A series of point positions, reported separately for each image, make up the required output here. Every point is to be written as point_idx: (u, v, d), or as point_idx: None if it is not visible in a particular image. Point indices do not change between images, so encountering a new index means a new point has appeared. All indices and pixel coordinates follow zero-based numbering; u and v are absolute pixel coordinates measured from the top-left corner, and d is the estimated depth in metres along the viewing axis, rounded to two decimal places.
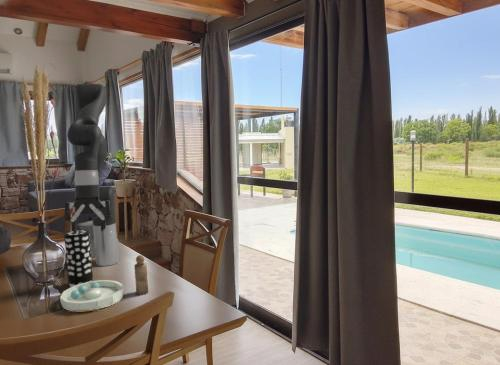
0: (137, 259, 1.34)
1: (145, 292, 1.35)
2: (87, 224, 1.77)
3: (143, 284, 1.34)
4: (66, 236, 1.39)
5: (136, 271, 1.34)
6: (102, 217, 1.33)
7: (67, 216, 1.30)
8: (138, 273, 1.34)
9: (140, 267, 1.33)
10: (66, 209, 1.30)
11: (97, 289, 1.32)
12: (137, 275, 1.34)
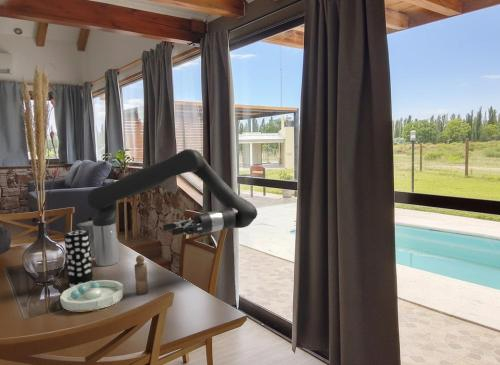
0: (137, 259, 1.34)
1: (145, 292, 1.35)
2: (87, 224, 1.77)
3: (143, 284, 1.34)
4: (66, 236, 1.39)
5: (136, 271, 1.34)
6: None
7: (189, 233, 1.37)
8: (138, 273, 1.34)
9: (140, 267, 1.33)
10: None
11: (97, 289, 1.32)
12: (137, 275, 1.34)
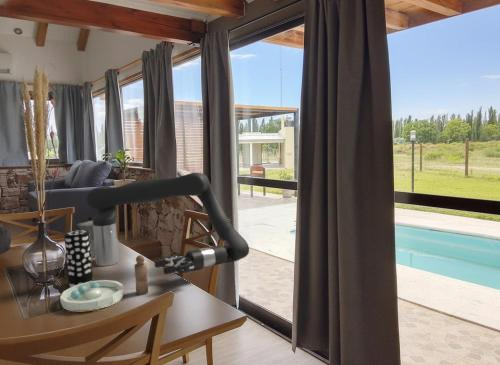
0: (137, 259, 1.34)
1: (145, 292, 1.35)
2: (87, 224, 1.77)
3: (143, 284, 1.34)
4: (66, 236, 1.39)
5: (136, 271, 1.34)
6: None
7: None
8: (138, 273, 1.34)
9: (140, 267, 1.33)
10: None
11: (97, 289, 1.32)
12: (137, 275, 1.34)
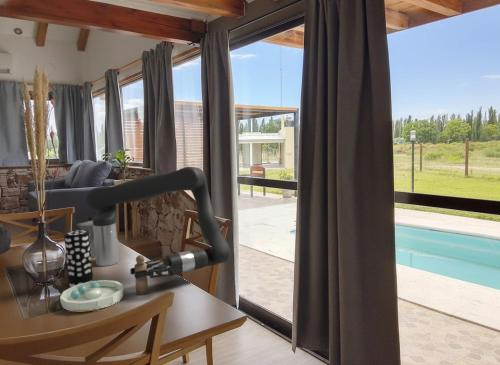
0: (137, 259, 1.34)
1: (145, 292, 1.35)
2: (87, 224, 1.77)
3: (143, 283, 1.34)
4: (66, 236, 1.39)
5: (136, 271, 1.34)
6: None
7: None
8: None
9: (140, 267, 1.33)
10: None
11: (97, 289, 1.32)
12: None
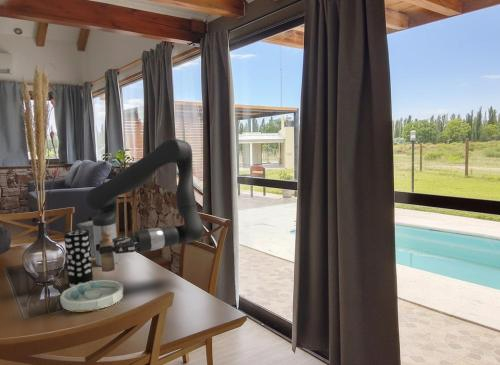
0: (102, 234, 1.28)
1: (111, 269, 1.29)
2: (87, 224, 1.77)
3: (108, 260, 1.29)
4: (66, 236, 1.39)
5: None
6: None
7: (119, 252, 1.28)
8: None
9: (105, 242, 1.28)
10: None
11: (97, 289, 1.32)
12: None
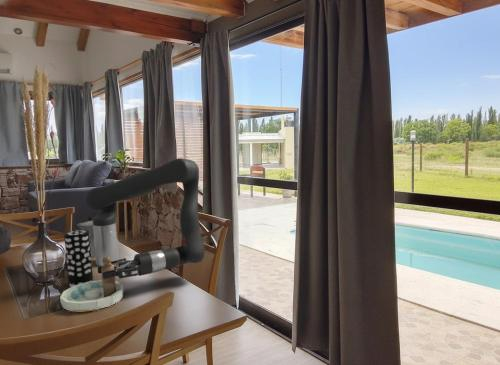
0: (103, 260, 1.29)
1: None
2: (87, 224, 1.77)
3: (110, 286, 1.30)
4: (66, 236, 1.39)
5: None
6: None
7: None
8: None
9: (106, 269, 1.29)
10: None
11: (97, 289, 1.32)
12: None
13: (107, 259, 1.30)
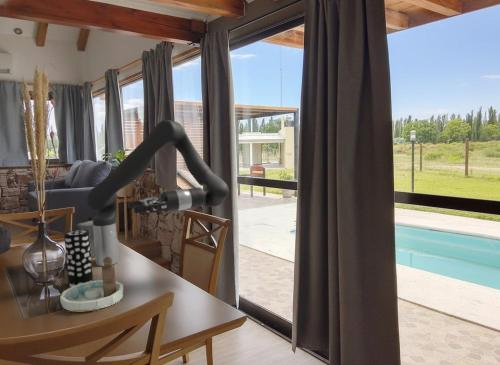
0: (104, 261, 1.29)
1: None
2: (87, 224, 1.77)
3: (110, 286, 1.30)
4: (66, 236, 1.39)
5: (103, 273, 1.29)
6: None
7: (153, 211, 1.32)
8: (105, 275, 1.29)
9: (107, 269, 1.29)
10: None
11: (97, 289, 1.32)
12: (104, 277, 1.29)
13: (108, 259, 1.29)
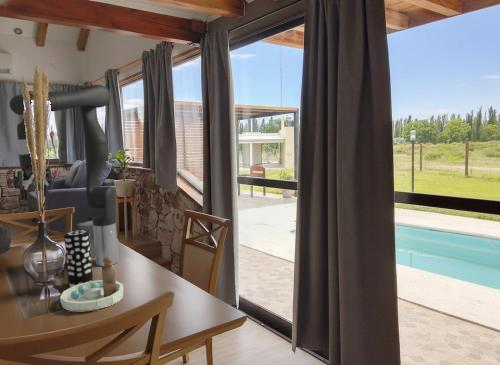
0: (104, 261, 1.29)
1: None
2: (87, 224, 1.77)
3: (110, 286, 1.30)
4: (66, 236, 1.39)
5: (103, 273, 1.29)
6: (47, 183, 1.43)
7: (21, 184, 1.32)
8: (105, 275, 1.29)
9: (107, 269, 1.29)
10: (20, 177, 1.32)
11: (97, 289, 1.32)
12: (104, 277, 1.29)
13: (108, 259, 1.29)
